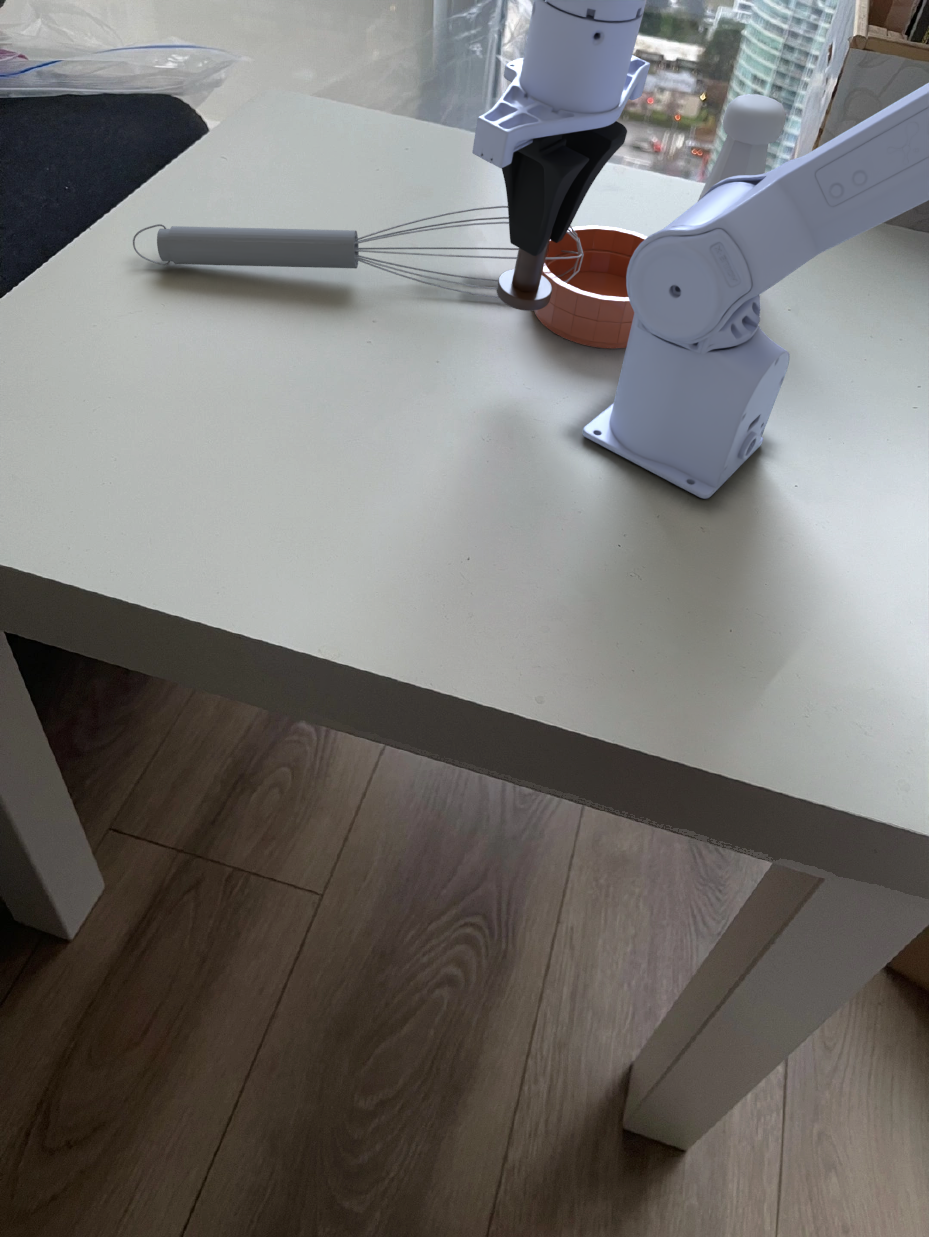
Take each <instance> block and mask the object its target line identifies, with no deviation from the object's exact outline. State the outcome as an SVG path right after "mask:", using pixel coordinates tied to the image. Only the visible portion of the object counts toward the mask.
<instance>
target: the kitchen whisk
mask: <svg viewBox="0 0 929 1237" xmlns="http://www.w3.org/2000/svg"><path fill="white" fill-rule="evenodd" d="M492 209H493V210H494V209H508V205H496V206H485V207H474V208H469V209H468V208H467V209H463V210H457V211H451V212H445V213H441V214H438V215H437V214H436V215H433V216H429V217H424V218H420V219H419V218H418V219H416V220H413V221H408V222H404V223H401V224H398V225H394V226H391V227H388V228H387V227H386V228H383V229H381V230H378V231H375V232H372V233H369V234H366V235H363V236H359V235H358V231H357V230H355V229H354V230H353V229H352V230H351V229H349V230H348V229H312V228H311V229H310V228H304V229H303V228H271V227H270V228H266V227H225V226H223V227H222V226H220V227H219V226H184V225H183V226H180V225H179V226H178V225H173V226H170V228H167V227H166V226H165V224H163V223H159V224H153V225H150V226H146V227H144V228H142V229H140V230H139V231H137V232H136V233H135V234H134V236H133V238H132V246H133V250H134V251H135V253H136V254H137V255H138V256H139V257H140V258H142V259H144V260H145V261H148V262H149V263H150V262H151V263H154V264H157V265H160V266H168V265H169V264H170V263H171V262H172V263H173V264H175V265H195V266H196V265H197V266H200V265H201V266H233V267H234V266H235V267H238V266H239V267H240V266H241V267H275V268H277V267H278V268H279V267H280V268H285V267H286V268H318V269H321V268H323V269H324V268H325V269H358V266H359V262H360V263H363V264H365V265H369V266H370V267H374V268H376V269H379V270H382V271H385V272H387V273H390V274H394V275H396V276H399V277H403V278H406V279H409V280H413V281H416V282H419V283H422V284H425V285H430V286H433V287H437V288H441V289H443V290H444V289H445V290H449V291H453V292H458V293H463V294H468V295H472V296H477V297H486V298H494V299H500V298H499V297H498V295H491V294H483V293H476V292H471V291H466V290H461V289H457V288H451V287H447V286H444V285H440V284H436V283H433V282H429V281H425V280H422V279H418V278H414V277H412V276H408V275H405V274H409V275H413V276H418V277H420V278H421V277H422V278H426V279H430V280H435V281H440V282H442V283H443V282H444V283H448V284H455V285H460V286H466V287H473V288H477V289H479V288H480V289H487V290H495V291H496V289H497V287H493V286H486V285H485V286H484V285H476V284H470V283H464V282H459V281H453V280H447V279H442V278H438V277H433V276H429V275H425V274H424V275H423V274H421V273H417V272H412V271H408V270H404V269H410V270H414V271H420V272H426V273H429V274H430V273H431V274H437V275H442V276H448V277H455V278H462V279H468V280H469V279H470V280H476V281H486V282H487V281H488V282H497V283H498V279H494V278H484V277H483V278H482V277H473V276H467V275H459V274H451V273H446V272H440V271H435V270H434V271H433V270H430V269H429V270H428V269H423V268H418V267H413V266H408V265H403V264H399V263H394V262H389V261H384V260H380V259H376V258H372V257H368V256H364V255H360V254H359V253H373V254H374V253H375V254H388V255H389V254H390V255H391V254H393V255H406V256H407V255H409V256H428V257H429V256H430V257H447V258H449V257H450V258H472V259H473V258H475V259H497V260H499V259H500V260H502V259H504V260H516V259H517V256H495V255H493V256H492V255H491V256H490V255H469V254H468V255H467V254H465V255H464V254H442V253H421V252H407V251H406V252H404V251H389V250H492V251H493V250H495V251H496V250H497V251H498V250H499V251H518V250H519V248H518V247H473V246H472V247H469V246H467V247H466V246H465V247H461V246H460V247H459V246H458V247H457V246H456V247H455V246H454V247H453V246H450V247H448V246H447V247H444V246H443V247H441V246H439V247H438V246H436V247H435V246H434V247H433V246H431V247H430V246H428V247H427V246H426V247H425V246H423V247H422V246H421V247H418V246H417V247H415V246H411V247H409V246H407V247H405V246H404V247H402V246H400V247H399V246H398V247H396V246H395V247H393V246H392V247H391V246H390V247H389V246H388V247H387V246H386V247H359V244H362V243H367V242H372V241H377V240H381V239H387V238H391V237H398V236H404V235H409V234H414V233H421V232H422V233H423V232H429V231H436V230H442V229H450V228H458V227H459V228H460V227H469V226H470V227H471V226H484V225H485V226H486V225H502V224H504V225H509V221H491V222H490V220H509V216H499V217H498V216H497V217H494V216H493V217H479V218H471V219H462V220H453V221H447V222H441V223H436V224H435V223H434V224H428V225H423V226H422V225H421V226H418V227H413V228H408V229H401V230H397V231H394V232H389V233H385V234H381V233H384V232H387V231H390V230H393V229H397V228H401V227H404V226H408V225H411V224H415V223H420V222H423V221H428V220H432V219H436V218H441V217H444V216H449V215H455V214H456V215H457V214H462V213H466V212H473V211H482V210H492ZM477 221H487V222H477ZM467 222H468V223H467ZM469 222H471V223H469ZM472 222H473V223H472ZM459 223H460V224H459ZM461 223H462V224H461ZM463 223H464V224H463ZM452 224H453V225H452ZM156 227H162V228H159V229H158V231H157V234H156V246H157V253H158V256H159V259H160V260H161V261H162V262H166V263H162V262H159V261H156V260H154V259H153V260H152V259H150V258H148V257H146V256H144V255H142V254H141V253H140V252H139V251H138V250H137V247H136V244H135V243H136V242H135V241H136V238H137V237H138V235H140V234H141V233H143V232H144V231H146V230H149V229H153V228H156ZM572 227H573V226H572V224H571V225H570V227H569V228H571V230H572V231H573V232H574V233H573V232H572V231H571V230H570V229H568V231H569V232H568V231H567V232H566V233H568V234H569V235H570V236H571V237H572V238H573V239H574V240H575V241H576V242H577V250H578V252H573V251H565V250H562V251H561V252H566V253H574V254H578V256H573V257H546V259H572V258H577V261H576V263H575V265H574V267H572V268H571V269H569V270H568V271H566V272H565V273H563V274H562V275H558V276H557V277H561V276H563V275H565V274H566V273H568V272H569V271H571V270H572V269H574V272H573V275H572V276H571V277H570V278H569V279H568V280H567V281H564V282H565V283H567V282H568V281H569V280H570V279H572V278H573V277H574V276H575V275H576V274H577V273H578V272H579V271H580V267H581V263H582V259H583V256H584V254H583V251H582V247H581V243H580V239H579V238H578V237H577V233H576V232H575V231H574V229H573V228H572ZM377 234H380V235H377ZM374 235H375V236H374ZM384 250H385V251H384ZM386 250H387V251H386ZM580 250H581V251H580ZM580 257H581V260H580V264H579V268H578V271H576V267H577V264H578V261H579V258H580ZM390 265H391V266H390ZM393 266H396V267H400V268H396V267H393ZM401 268H404V269H401ZM389 269H390V270H389ZM392 270H393V271H392ZM396 271H397V272H396ZM575 271H576V272H575ZM398 272H399V273H398ZM400 272H401V273H400ZM402 273H405V274H402Z"/></svg>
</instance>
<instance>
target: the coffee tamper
mask: <svg viewBox="0 0 929 1237" xmlns="http://www.w3.org/2000/svg"><path fill="white" fill-rule="evenodd" d="M551 233H552V231H551ZM550 237H551V234H550ZM550 237H549V240H548V242H547V244H546V246H545V248H544V249H543V251H542V253H540V254H539V255H537V256H533V255H531V254H529V253H527V252H526V251H524V250H522V249H520V248H519V250H517V255H516V257H517V259H515V264H514V268H512V269H507V270H505V271H504V272H502V273H501V274H500V275H499V277H498V278H497V280H498V282H497V284H496V288H497V289H496V290H495V291H496V294H497V295H496V296H498V297H499V298H498V299H499V300H501V302H503V303H504V304H505V305H507V306H509V307H510V308H514V309H516V310H518V311H520V310H521V311H524V312H525V311H526V312H534V310H539V309H542V308H544V307H545V306H547V304H548V303H549V301H550V298H551V293H552V286H551V283H550V282H549V281H548V280H547V279H546V278H545V277H544V276H542V272H543V267H544V263H545V259H546V254H547V250H548V246H549V242H550Z"/></svg>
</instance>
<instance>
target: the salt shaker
mask: <svg viewBox="0 0 929 1237" xmlns="http://www.w3.org/2000/svg"><path fill="white" fill-rule="evenodd" d="M786 118H787V113H786V110H785V108H784V105H783V104H782V103H781V102H780V101H778V100H776V99H774V98H772V97H769V96H767V95H762V94H757V93H755V94H754V93H753V94H752V93H751V94H750V93H746V94H741V95H738V96H736V97H735V98H734V99H732V100H731V101H730V102H728V105H727V107H726V109H725V111H724V115H723V119H722V129H723V132H724V134H726V137H725V139H724V141H723V144H722V147H721V148H720V151H719V153H718V155H717V157H716V160H715V162H714V164H713V166H712V168H711V171H710V173H709V176H708V177H707V179H706V181H705V184H704V185H703V188H702V190H701V193H700V195H699V197H698V199H697V201H696V203H697V202H698V201H699V200H700V199H701V198H702V196H703V195H704V194H705V193H706V192H707V191H708V190H709V189H710V188H711V187H712V186H713V185H715V184H716V183H718V182H720V181H721V180H724V179H726V178H729V177H733V176H738V175H759V174H763V173H766V167H767V166H766V165H767V157H768V149H769V144H773V143H776V141H777V140H778V139H779V138H780V136H782V133H783V131H784V127H785V124H786Z"/></svg>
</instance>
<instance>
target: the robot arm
mask: <svg viewBox="0 0 929 1237" xmlns="http://www.w3.org/2000/svg"><path fill="white" fill-rule="evenodd" d="M646 5H647V0H533V2H532V8H531V14H530V19H529V26H528V31H527V35H526V36H527V37H526V42H525V48H524V53H523V57H518V58H516V59H514V60H512V61H509V62H507V63H506V64H505V65H504V70H503V78H504V80H506V81H507V82H509V84H508V86H507V87H506V89H505V91H504V92H503V93H502V94H501V96H500V97H499V98H498V100H497V101H496V103H495V104H494V105H493V106H492V107H491V108H490V109H489V110H488V111H486V112H485V113H483V114H481V115H479V116H478V117H477V118H476V126H475V132H474V138H473V146H472V152H471V153H472V154H473V155H474V156H476V157H478V158H480V159H482V160H483V161H484V162H487V163H490V164H492V165H493V166H495V167H497V168H499V169H501V171H502V172H501V173H502V175H503V180H504V185H505V192H506V202H507V206H508V208H507V213H508V214H507V215H508V216H507V217H509V219H508V222H509V224H508V230H509V231H508V232H509V242H510V244H511V245H513V246H514V247H516V248H520V249H522V250H524V251H526V252H527V253H529V254H531V255H533V256H537V255H539V254H540V253H542V251H543V249H544V248H545V246H546V244H547V242H548V240H549V237H550V234H551V237H550V240H552V241H553V242H555V243H558V242H559V241H561V240H562V239H563V237H564V236H565V234H566V232H567V231H568V229H569V228H570V225H571V226H572V223H573V221H574V219H575V217H576V215H577V214H578V211H579V209H580V206H581V205H582V203H583V202H584V200H585V198H586V196H587V194H588V192H589V190H590V188H591V187H592V185H593V183H594V182H595V180H596V178H597V177H598V176H599V175H600V173H601V171H602V170H603V168H604V167H605V166H606V164H607V163H608V162H609V161H610V159H612V157H613V156H614V155H615V154H616V152H617V151H618V150H619V149H620V148H621V147H622V146H623V145H624V144H625V142H626V139H627V138H626V137H627V135H628V129H627V127H626V125H624V124H623V123H621V122H620V121H618V120H619V119H620V117H621V115H622V112H623V111H624V109H625V107H626V105H627V103H628V101H635V100H637V99H639V98H641V97H642V96H643V93H644V89H645V85H646V81H647V79H648V75H649V70H650V68H651V67H650V66H651V62H648V61H646V60H644V59H642V58H640V57H637V56H636V55H634V54H633V53H634V50H635V47H636V43H637V39H638V35H639V32H640V28H641V24H642V20H643V17H644V13H645V9H646ZM697 201H698V200H697ZM697 201H696V202H695V203H694V204H693V205H691V206H690V207H689V208H688V209H687V210H685V211H684V212H682V213H681V214H680V215H679V216H678V217H676V218H675V219H674V220H672V221H671V222H670V223H668V225H666V226H665V227H664V228H661V229H660V230H658V231H656V232H654V233H652V234H650V235H648V236H647V238H646V239H645V240H644V241H643V242H642V243H640V245H639V246H638V247H637V248H636V250H635V251H634V253H633V255H632V257H631V259H630V262H629V265H628V268H627V275H626V287H627V294H628V298H629V301H630V304H631V306H632V308H633V310H634V317H633V321H632V325H631V330H630V334H629V338H628V343H627V347H626V348H625V352H624V356H623V360H622V365H621V368H620V374H619V377H618V378H619V379H618V383H617V387H616V391H615V396H614V400H613V403H611V404H610V405H608V407H606V409H604V410H603V411H601V413H599V414H598V415H597V416H595V417H594V418H593V419H592V420H590V422H588V423H587V424H586V425H585V426H584V427H582V436H583V437H584V438H586V439H587V440H590V441H592V442H593V443H596V444H598V445H600V446H601V447H603V448H605V449H606V450H609V451H610V452H612V453H614V454H616V455H618V456H620V457H621V458H624V459H626V460H627V461H629V462H632V463H633V464H635V465H637V466H639V467H641V468H643V469H645V470H647V471H648V472H651V473H653V474H654V475H656V476H658V477H660V478H662V479H664V480H666V481H667V482H670V483H671V484H673V485H675V486H677V487H679V488H681V489H682V490H685V491H686V492H689V493H691V494H693V495H694V496H696V497H698V498H699V499H703V500H707V499H709V498H711V497H712V496H713V495H714V494H715V493H716V492H717V491H718V490H719V489H720V488H721V487H722V486H723V484H725V483H726V481H728V480H729V479H730V478H731V476H732V475H733V474H734V473H735V472H736V471H738V469H740V468H741V466H742V465H743V464H744V463H745V462H746V461H747V460H748V459H749V458H750V457H751V456H752V455H753V454H754V453H755V452H756V451H757V450H758V449H759V448H760V446H761V445H762V444H763V442H764V437H763V434H764V431H765V429H766V427H767V424H768V421H769V419H770V416H771V413H772V411H773V408H774V406H775V403H776V401H777V398H778V396H779V393H780V390H781V388H782V385H783V382H784V379H785V378H786V377H785V376H786V374H787V371H788V369H789V364H790V351H788V350H787V349H785V348H784V347H782V346H781V345H779V344H778V343H776V342H775V341H774V340H772V339H771V338H770V337H769V336H768V335H767V334H766V333H765V331H764V330H762V328H761V327H760V322H761V294H763V293H764V292H766V291H768V290H769V289H771V288H772V287H774V286H775V285H776V284H778V283H780V282H781V281H782V280H784V279H785V278H787V277H788V276H789V275H791V274H792V273H794V272H796V271H797V270H798V269H799V268H801V267H803V266H804V265H805V264H807V263H808V262H810V261H811V260H812V259H814V258H815V257H818V255H820V254H823V253H824V252H826V251H828V250H830V249H832V248H835V247H837V246H839V245H841V244H842V243H844V242H847V241H849V240H850V239H853V238H855V237H857V236H859V235H861V234H863V233H865V232H867V231H869V230H872V229H873V228H875V227H877V226H879V225H881V224H883V223H886V222H888V221H890V220H891V219H894V218H896V217H898V216H900V215H902V214H905V213H906V212H907V211H910V210H912V209H914V208H916V207H918V206H920V205H923V204H924V203H927V202H928V201H929V82H928V83H925V84H924V85H923V86H920V87H919V88H917V89H916V90H913V91H912V92H910V93H909V94H907V95H905V96H903V97H901V98H900V99H898V100H897V101H895V102H893V103H891V104H889V105H887V106H886V107H885V108H883V109H881V110H879V111H878V112H876V113H874V114H873V115H871V116H869V117H868V118H865V119H864V120H862V121H860V122H859V123H857V124H856V125H854V126H852V127H850V128H849V129H847V130H845V131H844V132H842V133H840V134H839V135H836V136H835V137H833V138H832V139H830V140H828V141H827V142H825V143H823V144H821V145H820V146H818V147H817V148H815V149H813V150H812V151H810V152H808V153H806V154H804V155H802V156H800V157H796V158H792V159H790V160H787V161H786V162H784V163H782V164H780V165H779V166H777V167H774V168H773V169H771V170H769V171H767V172H766V171H765V173H763V174H759V175H738V176H733V177H729V178H726V179H724V180H721V181H720V182H718V183H716V184H715V185H713V186H712V187H711V188H710V189H709V190H708V191H707V192H706V193H705V194H704V195H703V196H702V198H701V199H700V200H699V201H698V202H697ZM551 231H552V233H551Z"/></svg>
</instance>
